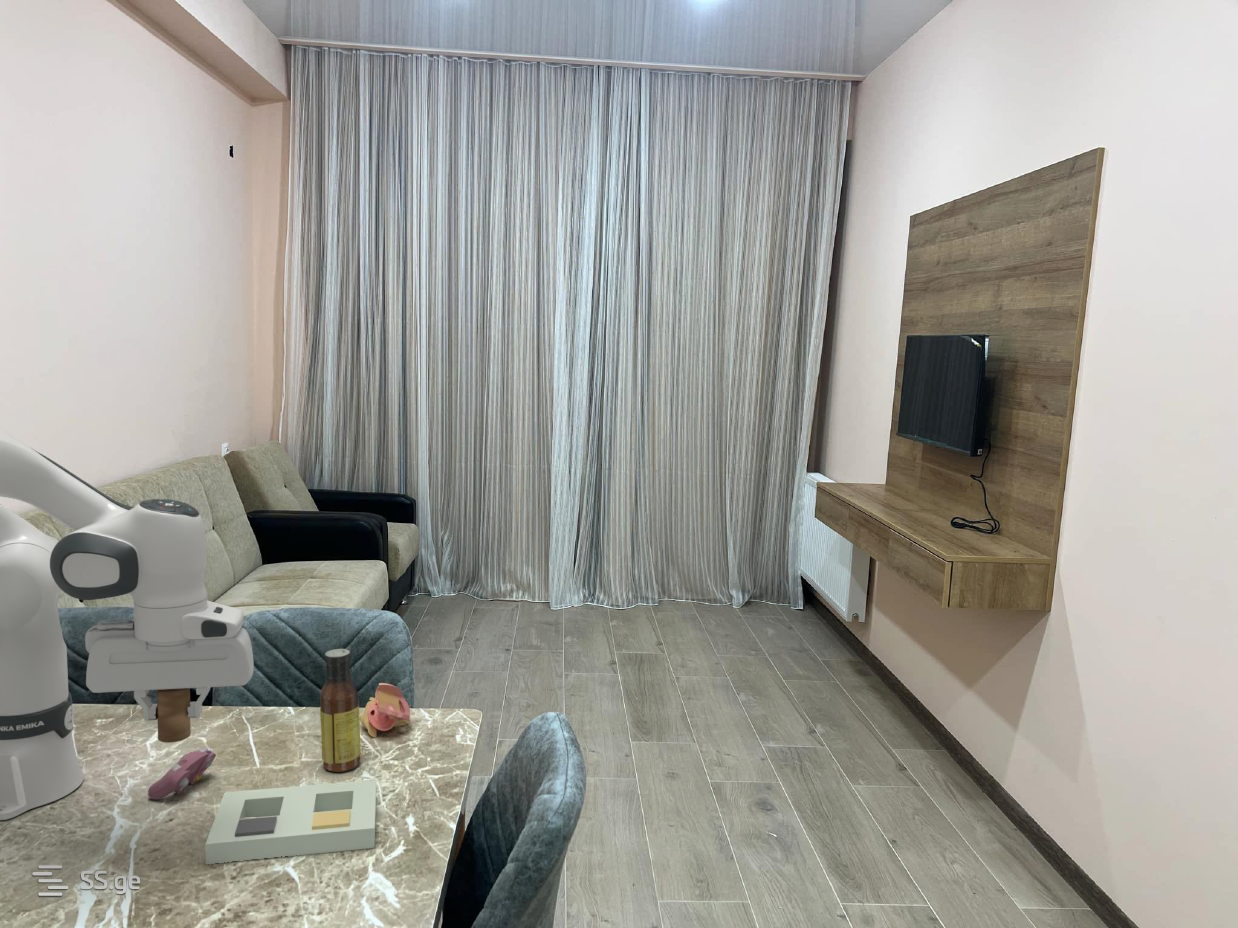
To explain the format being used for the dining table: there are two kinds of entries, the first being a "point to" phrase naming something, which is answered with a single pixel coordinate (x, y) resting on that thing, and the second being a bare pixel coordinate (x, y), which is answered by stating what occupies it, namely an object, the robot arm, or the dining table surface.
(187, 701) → the plug
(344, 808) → the socket block
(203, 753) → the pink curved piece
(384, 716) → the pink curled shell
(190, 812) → the dining table surface
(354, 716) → the sauce bottle
